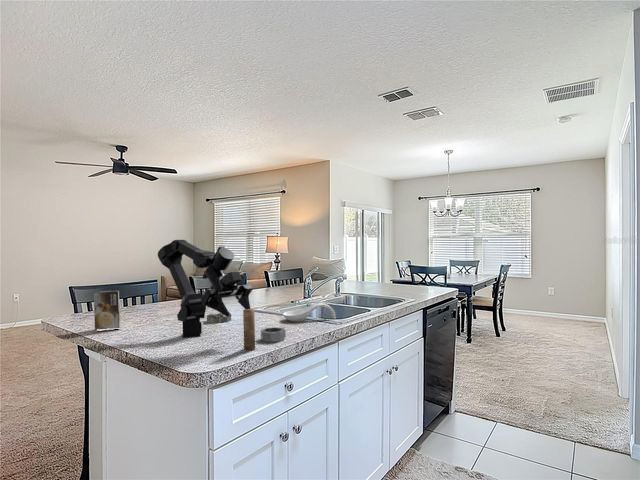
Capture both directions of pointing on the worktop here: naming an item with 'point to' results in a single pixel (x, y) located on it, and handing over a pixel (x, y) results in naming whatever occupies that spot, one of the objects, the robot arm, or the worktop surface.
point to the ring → (273, 334)
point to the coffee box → (106, 309)
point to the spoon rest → (305, 312)
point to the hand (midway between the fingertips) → (239, 313)
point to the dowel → (249, 329)
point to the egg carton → (218, 318)
